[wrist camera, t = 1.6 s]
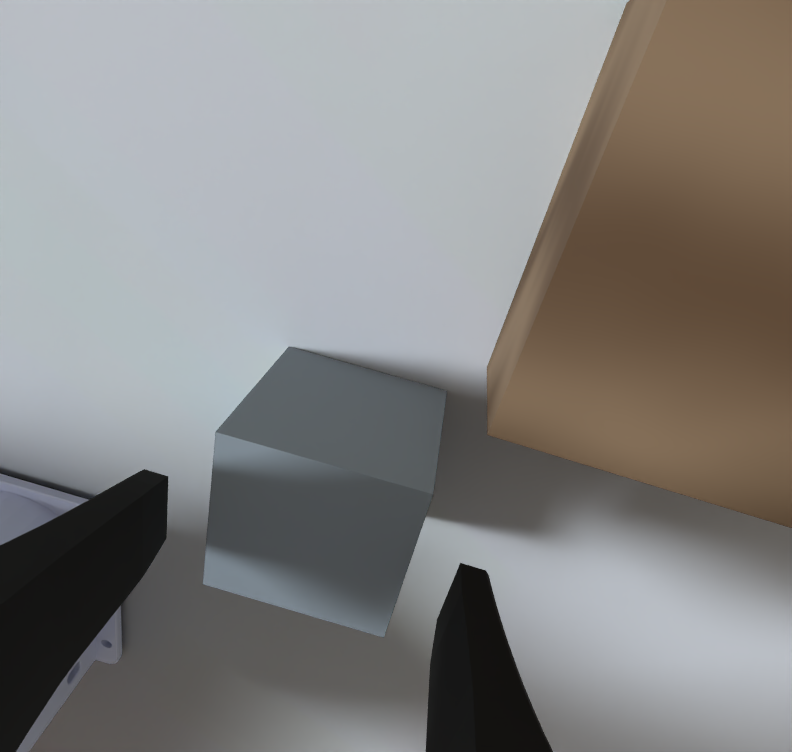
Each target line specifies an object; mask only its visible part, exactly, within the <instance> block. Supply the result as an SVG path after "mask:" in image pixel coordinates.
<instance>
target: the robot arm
mask: <svg viewBox="0 0 792 752" xmlns="http://www.w3.org/2000/svg"><path fill="white" fill-rule="evenodd" d="M167 500H168V476H165V475H161V474H158V473H155V472H151V471H148V470H145V469H144V470H142V471H140V472H138V473H136V474H135V475H133V476H131V477H129V478H127V479H125V480H124V481H122V482H120V483H118V484H116V485H115V486H113V487H111V488H109V489H108V490H106V491H104V492H102V493H100V494H99V495H97V496H95V497H93V498H91V499H90V500H88V499H85V498H81V497H78V496H75V495H71V494H68V493H64V492H61V491H58V490H54V489H51V488H47V487H44V486H41V485H37V484H34V483H31V482H27V481H24V480H20V479H17V478H14V477H10V476H7V475H3V474H0V752H29V751H30V750H31V748H32V747H33V745H34V744H35V743H36V741H37V740H38V738H39V737H40V736H41V734H42V733H43V732H44V730H45V729H46V727H47V726H48V725H49V723H50V722H51V720H52V719H53V718H54V716H55V715H56V714H57V712H58V711H59V709H60V708H61V707H62V705H63V704H64V702H65V701H66V700H67V698H68V697H69V696H70V694H71V693H72V691H73V690H74V689H75V687H76V686H77V684H78V683H79V682H80V680H81V679H82V678H83V676H84V675H85V673H86V672H87V671H88V669H89V668H90V666H91V665H92V664H93V662H94V661H95V660H97V661H101V662H104V663H107V664H115V663H117V662H118V660H119V659H120V657H121V656H122V627H121V604H122V603H123V602H124V600H125V599H126V598H127V597H128V595H129V594H130V593H131V591H132V590H133V589H134V588H135V586H136V585H137V584H138V582H139V581H140V580H141V578H142V577H143V576H144V574H145V572H146V571H147V569H148V568H149V566H150V564H151V563H152V561H153V560H154V558H155V556H156V555H157V553H158V551H159V550H160V548H161V546H162V545H163V543H164V541H165V539H166V534H167ZM426 752H553V751H552V749H551V747H550V745H549V743H548V740H547V738H546V736H545V734H544V732H543V730H542V727H541V725H540V723H539V721H538V718H537V716H536V714H535V712H534V709H533V707H532V704H531V702H530V699H529V697H528V695H527V692H526V690H525V687H524V685H523V682H522V680H521V677H520V674H519V672H518V669H517V666H516V663H515V661H514V658H513V655H512V652H511V649H510V647H509V644H508V641H507V638H506V635H505V632H504V629H503V625H502V622H501V619H500V616H499V612H498V609H497V606H496V602H495V598H494V595H493V591H492V587H491V583H490V579H489V575H488V573H487V572H486V570H482V569H479V568H475V567H472V566H469V565H465V564H462V563H460V565H459V568H458V570H457V573H456V575H455V577H454V580H453V582H452V585H451V587H450V590H449V592H448V594H447V597H446V599H445V602H444V604H443V607H442V609H441V611H440V614H439V616H438V619H437V624H436V630H435V636H434V643H433V649H432V656H431V663H430V678H429V697H428V717H427V738H426Z"/></svg>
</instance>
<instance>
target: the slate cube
mask: <svg viewBox="0 0 792 752" xmlns="http://www.w3.org/2000/svg"><path fill="white" fill-rule="evenodd" d="M446 395H447V391H446V390H442V389H438V388H435V387H431V386H428V385H424V384H421V383H417V382H414V381H410V380H407V379H403V378H399V377H396V376H392V375H389V374H385V373H382V372H378V371H375V370H371V369H367V368H364V367H360V366H357V365H353V364H350V363H346V362H343V361H339V360H336V359H332V358H328V357H325V356H321V355H318V354H314V353H311V352H307V351H304V350H300V349H297V348H293V347H288V348H287V349H286V351H285V352H284V353H283V354H282V355H281V356H280V358H279V359H278V360H277V361H276V362H275V363H274V365H273V366H272V367H271V368H270V369H269V370H268V372H267V373H266V374H265V375H264V376H263V377H262V379H261V380H260V381H259V382H258V383H257V384H256V386H255V387H254V388H253V389H252V390H251V391H250V393H249V394H248V395H247V396H246V397H245V398H244V400H243V401H242V402H241V403H240V404H239V405H238V406H237V408H236V409H235V410H234V411H233V412H232V413H231V415H230V416H229V417H228V418H227V419H226V420H225V422H224V423H223V424H222V425H221V426H220V427H219V429H218V430H217V431H216V433H215V445H214V457H213V469H212V481H211V493H210V505H209V517H208V529H207V541H206V553H205V565H204V577H203V584H204V585H207V586H211V587H214V588H217V589H221V590H224V591H227V592H231V593H234V594H238V595H241V596H244V597H248V598H251V599H255V600H258V601H261V602H265V603H268V604H271V605H275V606H278V607H282V608H285V609H288V610H292V611H295V612H299V613H302V614H305V615H309V616H312V617H315V618H319V619H322V620H326V621H329V622H332V623H336V624H339V625H343V626H346V627H349V628H353V629H356V630H359V631H363V632H366V633H370V634H373V635H376V636H380V637H383V638H384V636H385V633H386V630H387V627H388V624H389V621H390V618H391V615H392V613H393V610H394V607H395V604H396V601H397V598H398V595H399V592H400V589H401V586H402V584H403V581H404V578H405V575H406V572H407V569H408V566H409V563H410V560H411V557H412V555H413V552H414V549H415V546H416V543H417V540H418V537H419V534H420V531H421V528H422V526H423V523H424V520H425V517H426V514H427V511H428V508H429V505H430V502H431V499H432V496H433V492H434V485H435V477H436V470H437V462H438V455H439V447H440V440H441V432H442V425H443V417H444V410H445V402H446Z"/></svg>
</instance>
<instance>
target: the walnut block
mask: <svg viewBox="0 0 792 752" xmlns="http://www.w3.org/2000/svg"><path fill="white" fill-rule="evenodd" d="M487 435H489V436H492V437H496V438H499V439H502V440H506V441H509V442H512V443H515V444H519V445H522V446H525V447H528V448H532V449H535V450H538V451H542V452H545V453H548V454H551V455H555V456H558V457H561V458H564V459H568V460H571V461H574V462H577V463H581V464H584V465H587V466H591V467H594V468H597V469H600V470H604V471H607V472H610V473H613V474H617V475H620V476H623V477H627V478H630V479H633V480H636V481H640V482H643V483H646V484H649V485H653V486H656V487H659V488H663V489H666V490H669V491H672V492H676V493H679V494H682V495H685V496H689V497H692V498H695V499H698V500H702V501H705V502H708V503H712V504H715V505H718V506H721V507H725V508H728V509H731V510H734V511H738V512H741V513H744V514H748V515H751V516H754V517H757V518H761V519H764V520H767V521H770V522H774V523H777V524H780V525H784V526H787V527H790V528H792V0H630V1H629V2H627V4H626V6H625V9H624V11H623V14H622V17H621V19H620V22H619V24H618V27H617V30H616V32H615V35H614V38H613V40H612V43H611V45H610V48H609V51H608V53H607V56H606V58H605V61H604V64H603V66H602V69H601V71H600V74H599V77H598V79H597V82H596V84H595V87H594V90H593V92H592V95H591V97H590V100H589V103H588V105H587V108H586V111H585V113H584V116H583V118H582V121H581V124H580V126H579V129H578V131H577V134H576V137H575V139H574V142H573V144H572V147H571V150H570V152H569V155H568V157H567V160H566V163H565V165H564V168H563V170H562V173H561V176H560V178H559V181H558V184H557V186H556V189H555V191H554V194H553V197H552V199H551V202H550V204H549V207H548V210H547V212H546V215H545V217H544V220H543V223H542V225H541V228H540V230H539V233H538V236H537V238H536V241H535V243H534V246H533V249H532V251H531V254H530V256H529V259H528V262H527V264H526V267H525V270H524V272H523V275H522V277H521V280H520V283H519V285H518V288H517V290H516V293H515V296H514V298H513V301H512V303H511V306H510V309H509V311H508V314H507V316H506V319H505V322H504V324H503V327H502V329H501V332H500V335H499V337H498V340H497V343H496V345H495V348H494V350H493V353H492V356H491V358H490V361H489V363H488V366H487Z"/></svg>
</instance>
